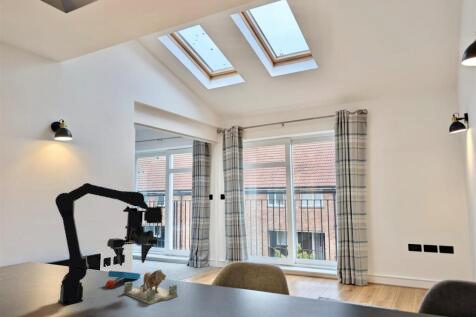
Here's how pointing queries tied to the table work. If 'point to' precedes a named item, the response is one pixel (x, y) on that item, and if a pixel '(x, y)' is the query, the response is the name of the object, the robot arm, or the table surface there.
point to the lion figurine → (153, 279)
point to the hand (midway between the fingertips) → (132, 264)
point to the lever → (120, 277)
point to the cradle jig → (150, 293)
